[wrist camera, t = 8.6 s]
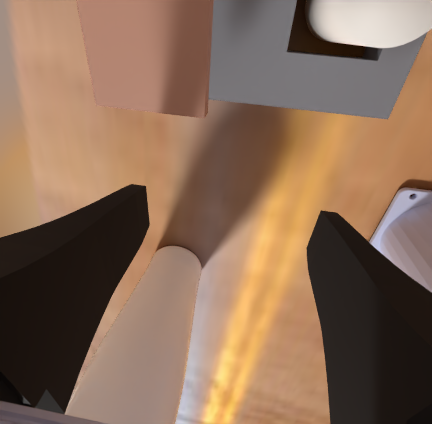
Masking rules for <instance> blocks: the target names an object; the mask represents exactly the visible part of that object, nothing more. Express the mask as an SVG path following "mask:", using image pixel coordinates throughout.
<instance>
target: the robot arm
mask: <svg viewBox="0 0 432 424" xmlns="http://www.w3.org/2000/svg"><path fill="white" fill-rule="evenodd" d="M411 194H414V195H413V196H412V197H409V196H410V195H411ZM149 225H150V223H149V213H148V203H147V193H146V186H141V185H134V184H131V185H129V186H126V187H124V188H122V189H120V190H118V191H116V192H114V193H112V194H110V195H108V196H106V197H104V198H102V199H100V200H98V201H96V202H94V203H92V204H90V205H88V206H86V207H83V208H81V209H79V210H77V211H75V212H72V213H70V214H68V215H66V216H63V217H61V218H58V219H56V220H53V221H51V222H48V223H45V224H42V225H40V226H37V227H34V228H31V229H28V230H24V231H21V232H18V233H14V234H11V235H8V236H4V237H1V238H0V424H107V423H102V422H98V421H93V420H88V419H84V418H79V417H74V416H70V415H65V412H66V409H67V406H68V403H69V400H70V398H71V395H72V392H73V389H74V386H75V384H76V381H77V378H78V375H79V373H80V370H81V367H82V365H83V362H84V360H85V357H86V355H87V352H88V350H89V347H90V345H91V342H92V340H93V337H94V335H95V333H96V330H97V328H98V326H99V323H100V321H101V319H102V316H103V314H104V312H105V310H106V308H107V305H108V303H109V301H110V299H111V297H112V295H113V293H114V291H115V289H116V287H117V285H118V284H119V282H120V280H121V279H122V277H123V275H124V274H125V272H126V270H127V268H128V267H129V265H130V263H131V262H132V260H133V258H134V257H135V255H136V253H137V251H138V250H139V248H140V246H141V244H142V242H143V240H144V238H145V235H146V233H147V230H148V228H149ZM307 262H308V271H309V276H310V280H311V285H312V289H313V294H314V298H315V302H316V306H317V311H318V315H319V319H320V324H321V330H322V337H323V345H324V353H325V362H326V372H327V383H328V395H329V409H330V424H432V191H431V190H423V189H415V188H402V189H400V190H399V191H398V192H397V194H396V195H395V197H394V199H393V201H392V202H391V204H390V206H389V208H388V209H387V211H386V213H385V215H384V217H383V218H382V220H381V222H380V224H379V225H378V227H377V229H376V231H375V232H374V234H373V236H372V238H371V240H370V241H369V242H368V241H367V240H366V239H365V238H364V237H363V236H362V235H361V234H360V233H359V232H357V231H356V230H355V229H354V228H353V227H352V226H351V225H350V224H349V223H348V222H347V221H346V220H345V219H344V218H342V217H341V216H340V215H339V214H338V213H335V212H328V211H321V212H320V214H319V217H318V220H317V222H316V225H315V227H314V230H313V233H312V235H311V238H310V241H309V243H308V246H307Z"/></svg>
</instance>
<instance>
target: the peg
mask: <svg viewBox="0 0 432 424" xmlns="http://www.w3.org/2000/svg"><path fill="white" fill-rule="evenodd" d="M305 18H306V23H307V26H308V28H309V30H310V31H311V33H312V34H313V35H314V36H315V37H316V38H318V39H320V40H323V41H327V42H335V43H343V44H351V45H359V46H367V47H375V48H391V47H397V46H400V45H404V44H406V43H409V42H411V41H413V40H415V39H417V38H419V37H420V36H422V35H423V34H425V33H426V32H428V31H429V30H430V29H432V0H306V5H305Z"/></svg>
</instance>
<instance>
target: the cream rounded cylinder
mask: <svg viewBox="0 0 432 424" xmlns="http://www.w3.org/2000/svg"><path fill="white" fill-rule="evenodd" d="M201 270H202V268H201V263H200V261H199V259H198V258H197V256H196V255H195V254H194V253H192V252H191V251H189V250H188V249H185V248H183V247H179V246H166V247H163V248H161V249H159V250H158V251H156V252H155V254H154V255H153V257H152V259H151V261H150V263H149V265H148V267H147V269H146V270H145V272H144V274H143V275H142V277H141V278H140V280H139V282H138V283H137V285H136V287H135V288H134V290H133V292H132V293H131V295H130V296H129V298H128V300H127V301H126V303H125V305H124V306H123V308H122V309H121V311H120V313H119V314H118V316H117V317H116V319H115V321H114V322H113V324H112V325H111V327H110V329H109V330H108V332H107V333H106V335H105V337H104V338H103V340H102V342H101V343H100V345H99V347H98V348H97V350H96V352H95V353H94V355H93V357H92V359H91V361H90V362H89V364H88V366H87V368H86V370H85V372H84V374H83V376H82V377H81V379H80V381H79V383H78V385H77V387H76V389H75V391H74V393H73V395H72V398H71V400H70V402H69V404H68V406H67V409H66V412H65V415H70V416H74V417H79V418H84V419H88V420H93V421H98V422H102V423H107V424H175V421H176V417H177V412H178V408H179V404H180V399H181V394H182V389H183V384H184V378H185V372H186V366H187V359H188V352H189V345H190V338H191V331H192V324H193V317H194V310H195V303H196V296H197V290H198V284H199V280H200V276H201Z"/></svg>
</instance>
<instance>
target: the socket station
mask: <svg viewBox="0 0 432 424" xmlns="http://www.w3.org/2000/svg"><path fill="white" fill-rule="evenodd" d="M76 1H77V7H78V12H79V17H80V23H81V28H82V33H83V39H84V44H85V49H86V55H87V60H88V65H89V71H90V76H91V81H92V87H93V92H94V97H95V103H96V106H104V107H113V108H121V109H130V110H138V111H147V112H155V113H164V114H173V115H181V116H190V117H198V118H205V116H206V115H207V113H208V99H211V100H220V101H229V102H238V103H247V104H256V105H265V106H274V107H283V108H292V109H301V110H310V111H319V112H327V113H336V114H345V115H354V116H363V117H372V118H381V119H388V118H389V116H390V114H391V111H392V109H393V107H394V105H395V102H396V100H397V98H398V96H399V94H400V91H401V89H402V87H403V85H404V83H405V80H406V78H407V76H408V74H409V72H410V69H411V67H412V65H413V63H414V61H415V58H416V56H417V54H418V52H419V49H420V47H421V45H422V43H423V41H424V38H425V36H426V34H427V32H426V33H425V34H423V35H422V36H420V37H419V38H417V39H415V40H413V41H411V42H409V43H406V44H404V45H400V46H397V47H391V48H375V47H367V46H366V47H365V50H364V53H363V56H362V57H352V56H342V55H331V54H321V53H310V52H300V51H289V50H287V48H288V43H289V38H290V33H291V28H292V23H293V18H294V13H295V8H296V3H297V0H76Z"/></svg>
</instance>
